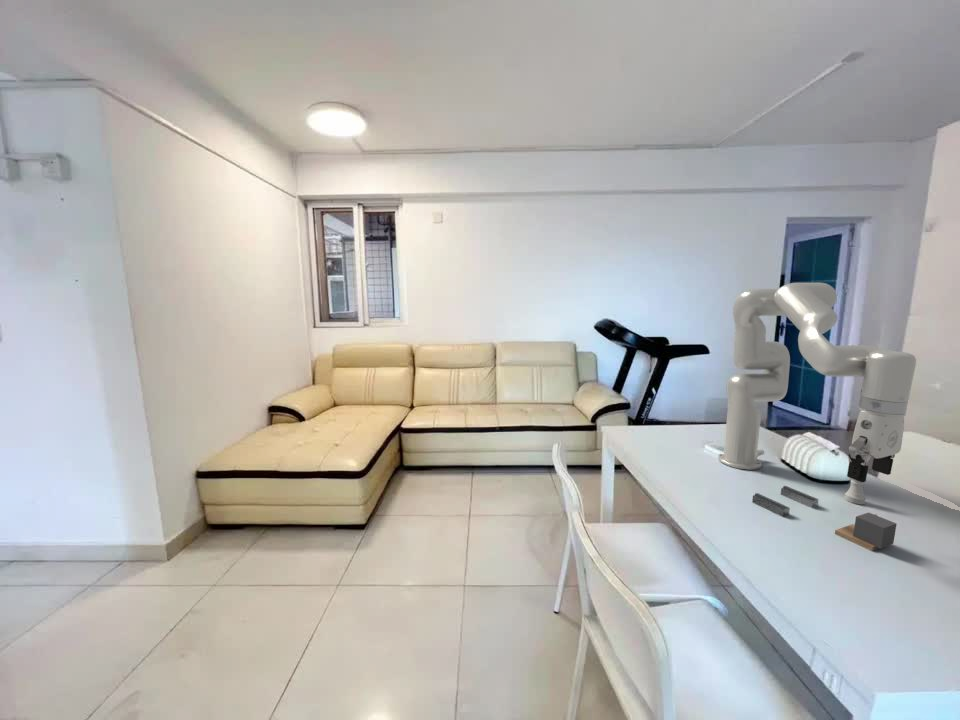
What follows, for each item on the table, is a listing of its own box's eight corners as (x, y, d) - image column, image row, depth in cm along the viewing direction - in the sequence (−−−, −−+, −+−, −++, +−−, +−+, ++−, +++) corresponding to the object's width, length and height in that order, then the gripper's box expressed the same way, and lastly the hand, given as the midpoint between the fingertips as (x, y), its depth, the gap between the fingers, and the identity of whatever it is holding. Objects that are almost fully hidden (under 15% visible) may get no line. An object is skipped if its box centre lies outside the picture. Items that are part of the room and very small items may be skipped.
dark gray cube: (865, 531, 93) (868, 512, 92) (893, 543, 89) (896, 523, 88) (852, 536, 92) (856, 516, 91) (880, 548, 87) (883, 528, 86)
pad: (852, 527, 96) (852, 524, 96) (889, 544, 90) (890, 540, 90) (834, 533, 94) (835, 530, 94) (871, 551, 88) (872, 547, 87)
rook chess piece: (861, 499, 110) (865, 472, 109) (868, 506, 106) (873, 479, 105) (840, 495, 112) (844, 469, 111) (847, 503, 108) (851, 476, 107)
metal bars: (786, 492, 114) (787, 485, 114) (817, 506, 107) (818, 498, 106) (752, 502, 109) (753, 494, 109) (782, 516, 102) (783, 508, 101)
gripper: (881, 415, 81) (867, 490, 84) (926, 405, 87) (911, 476, 90) (838, 405, 88) (826, 475, 91) (882, 397, 94) (869, 463, 97)
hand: (868, 475), depth 90 cm, fingers open, 9 cm apart
